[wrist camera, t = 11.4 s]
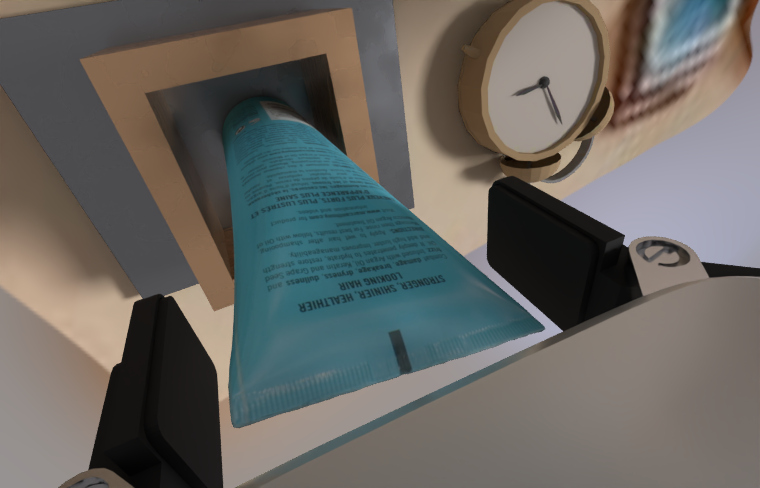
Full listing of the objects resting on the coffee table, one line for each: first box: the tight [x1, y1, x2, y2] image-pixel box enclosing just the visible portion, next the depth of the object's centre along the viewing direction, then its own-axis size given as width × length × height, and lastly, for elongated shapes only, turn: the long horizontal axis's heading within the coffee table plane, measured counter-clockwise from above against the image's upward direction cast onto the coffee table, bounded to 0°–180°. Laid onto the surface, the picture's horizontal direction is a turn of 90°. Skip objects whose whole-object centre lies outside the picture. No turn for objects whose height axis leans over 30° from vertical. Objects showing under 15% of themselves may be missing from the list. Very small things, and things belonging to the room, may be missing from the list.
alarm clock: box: [458, 0, 614, 184], centre depth 30 cm, size 11×5×15 cm
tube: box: [222, 97, 545, 428], centre depth 16 cm, size 7×5×19 cm, turn 93°
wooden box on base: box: [0, 0, 414, 311], centre depth 21 cm, size 20×16×7 cm
